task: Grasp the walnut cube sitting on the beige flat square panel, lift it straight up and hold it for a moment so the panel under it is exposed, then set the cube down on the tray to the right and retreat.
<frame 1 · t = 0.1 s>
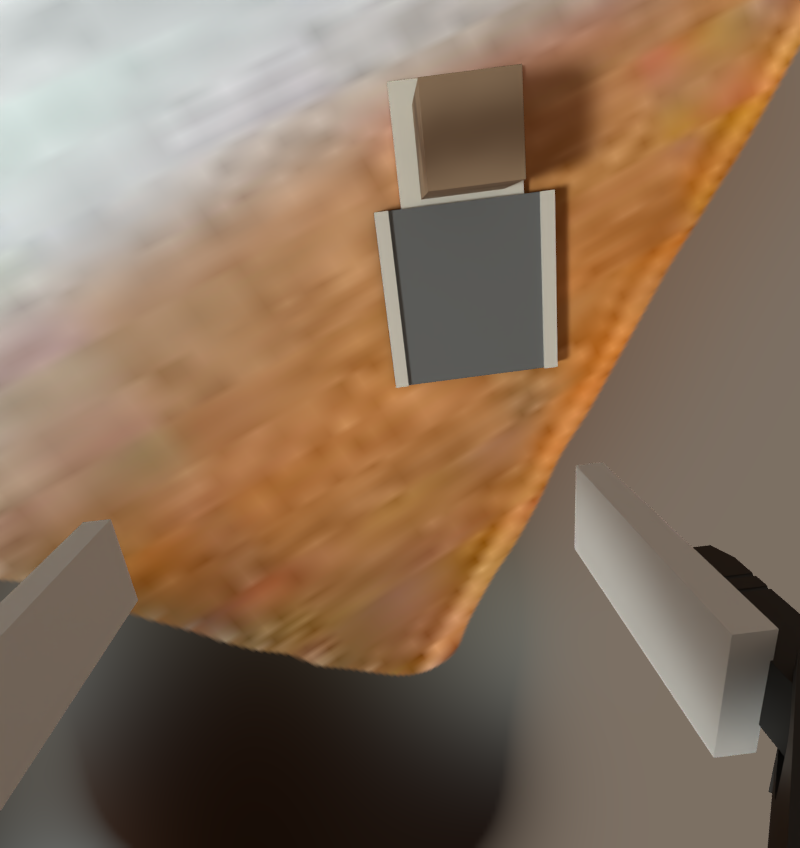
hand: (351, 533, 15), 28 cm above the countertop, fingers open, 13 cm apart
walnut block: (459, 147, 36), resting on beige flat square panel
beige flat square panel: (458, 148, 36), on the countertop
tray: (468, 292, 40), on the countertop
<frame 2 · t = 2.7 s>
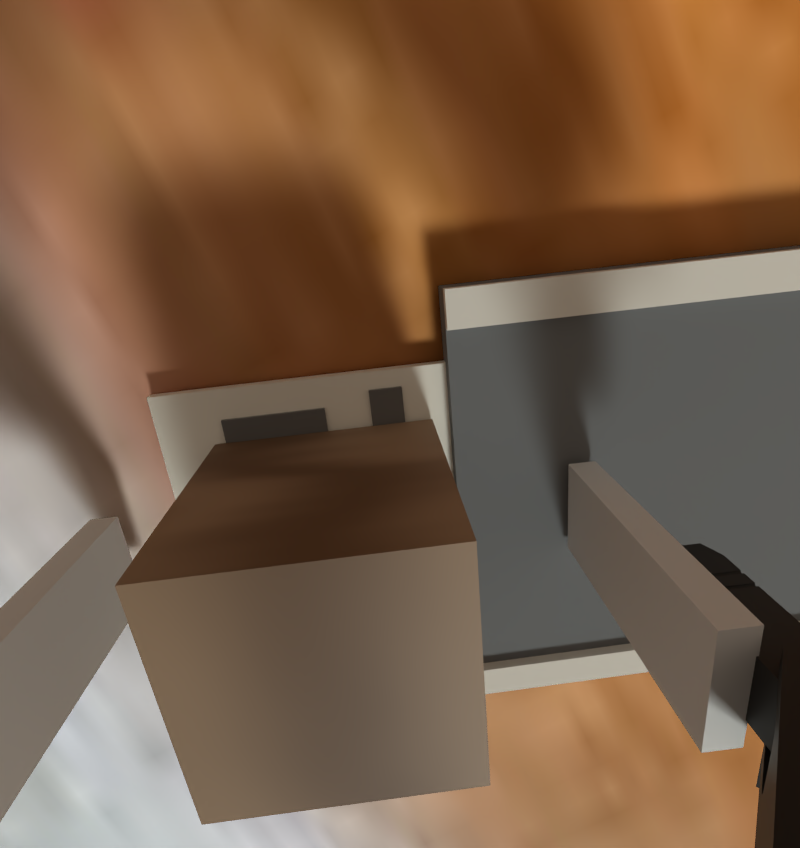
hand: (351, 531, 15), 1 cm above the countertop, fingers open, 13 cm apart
walnut block: (339, 525, 15), resting on beige flat square panel
beige flat square panel: (340, 519, 15), on the countertop
tray: (662, 478, 16), on the countertop
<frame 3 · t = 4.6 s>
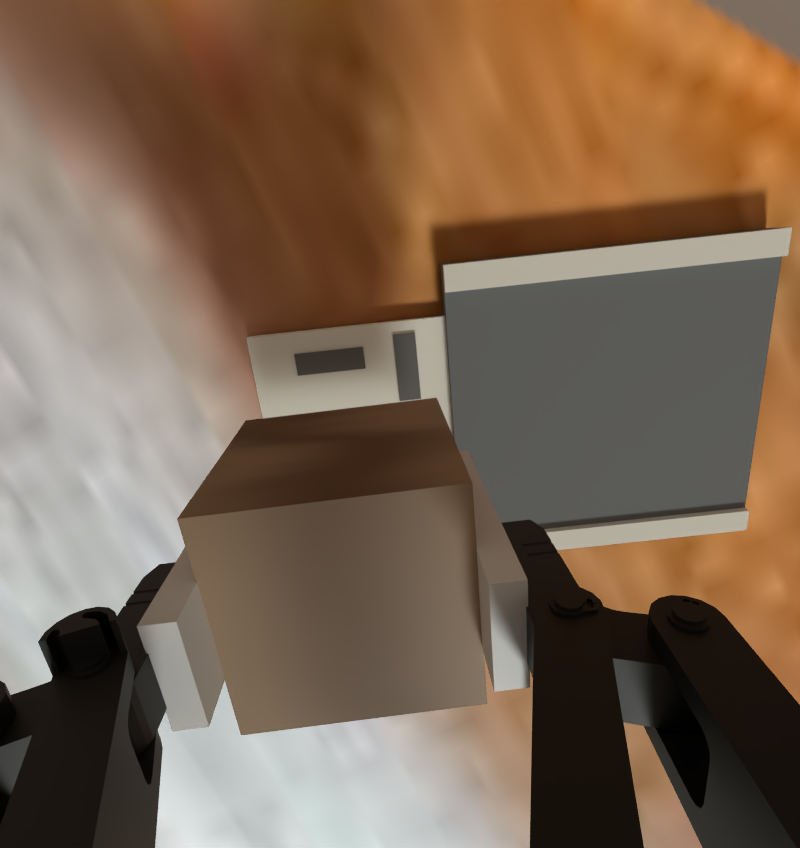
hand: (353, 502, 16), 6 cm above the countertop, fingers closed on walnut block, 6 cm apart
walnut block: (354, 494, 17), point 6 cm above the countertop, touching gripper
beige flat square panel: (371, 427, 22), on the countertop
tray: (599, 403, 22), on the countertop
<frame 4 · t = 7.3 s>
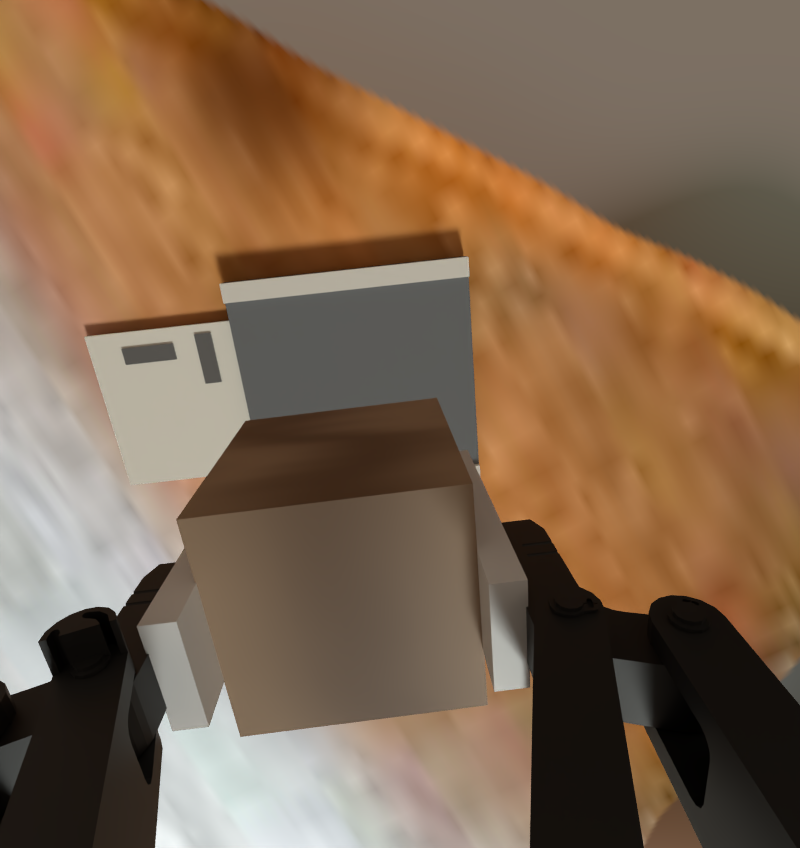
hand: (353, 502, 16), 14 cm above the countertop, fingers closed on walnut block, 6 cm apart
walnut block: (354, 494, 17), point 14 cm above the countertop, touching gripper
beige flat square panel: (189, 404, 30), on the countertop
tray: (360, 385, 30), on the countertop
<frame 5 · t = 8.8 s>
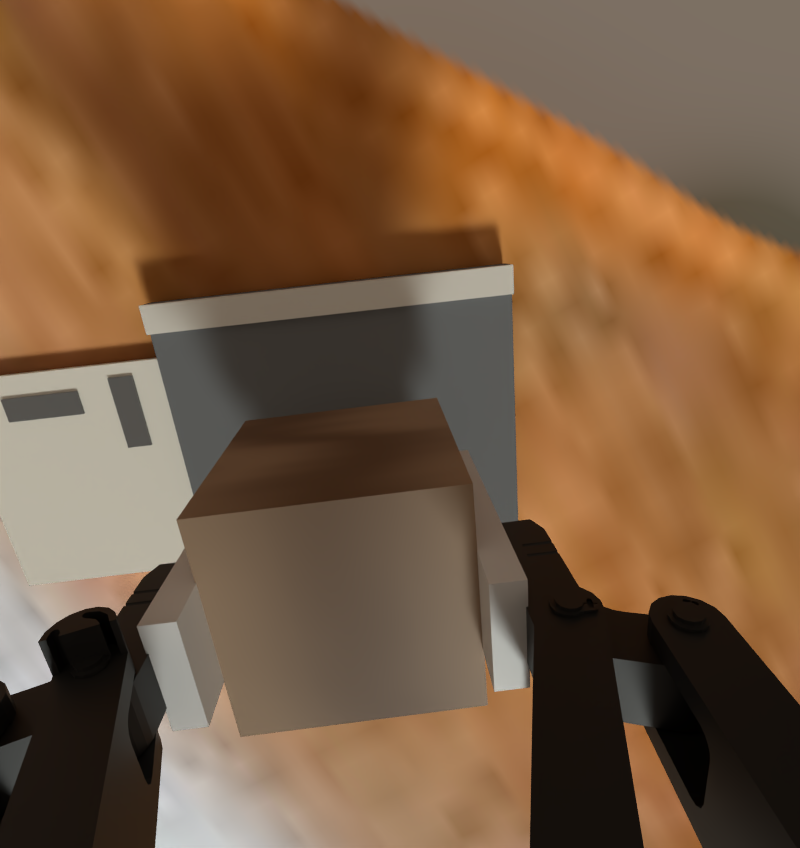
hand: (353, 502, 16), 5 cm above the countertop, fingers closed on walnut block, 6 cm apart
walnut block: (354, 494, 17), point 4 cm above the countertop, touching gripper
beige flat square panel: (107, 475, 21), on the countertop
tray: (353, 446, 21), on the countertop
when the fingers open (1 cm above the countertop, at t = 10.0 s): walnut block stays where it is, resting on tray.
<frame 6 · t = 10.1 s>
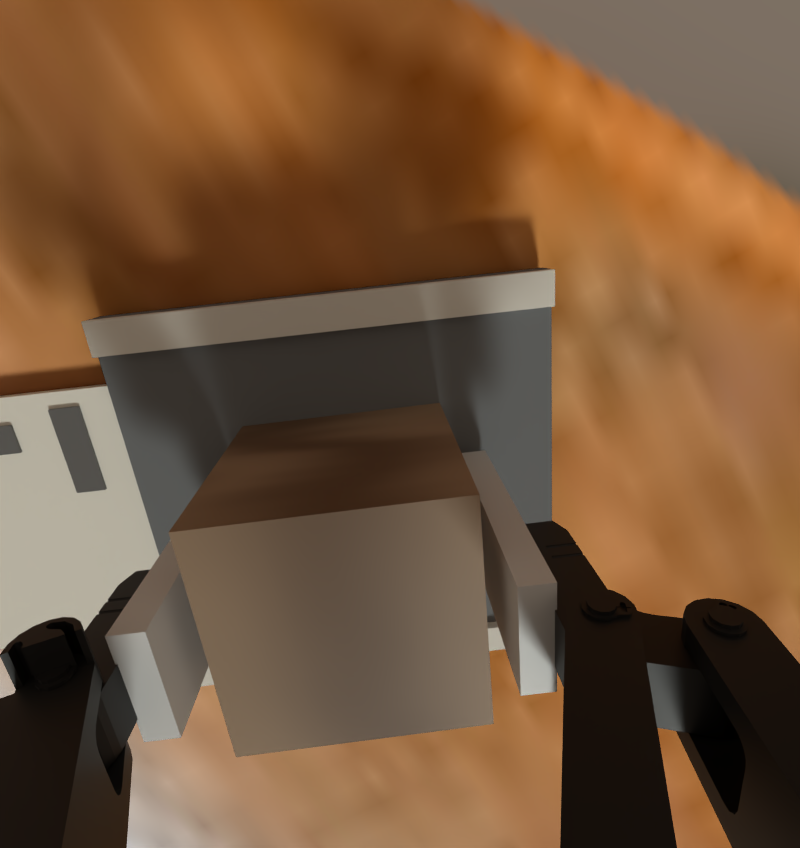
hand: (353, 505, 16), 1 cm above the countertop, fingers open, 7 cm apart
walnut block: (354, 502, 16), point 1 cm above the countertop, touching tray
beige flat square panel: (54, 524, 17), on the countertop
tray: (352, 489, 17), on the countertop
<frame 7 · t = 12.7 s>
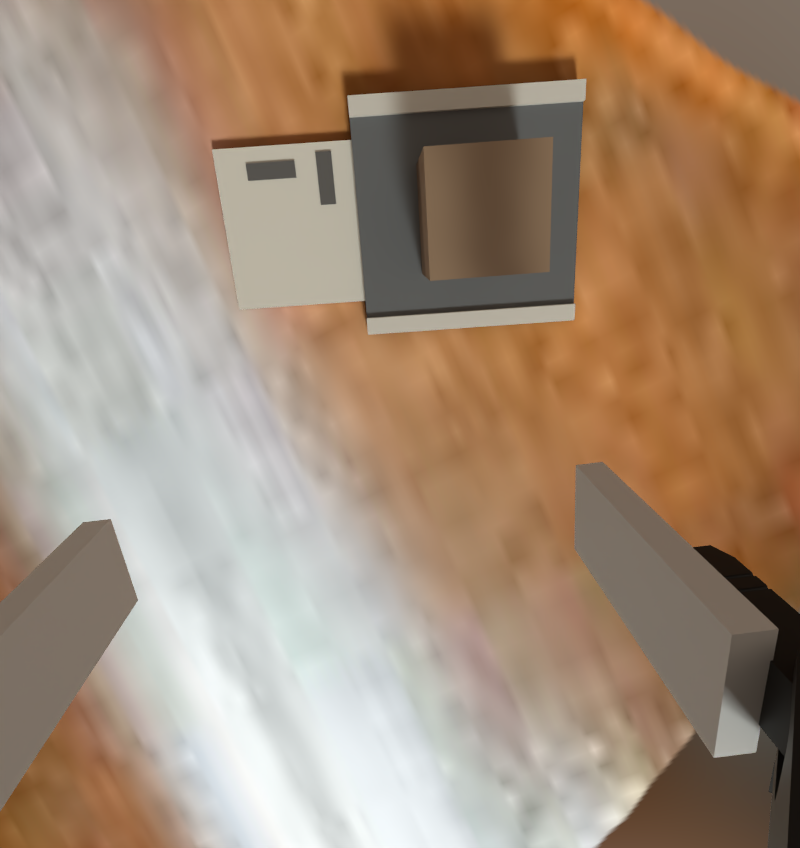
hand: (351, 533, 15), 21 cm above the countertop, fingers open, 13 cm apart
walnut block: (469, 217, 30), point 1 cm above the countertop, touching tray
beige flat square panel: (301, 228, 31), on the countertop
tray: (466, 216, 31), on the countertop
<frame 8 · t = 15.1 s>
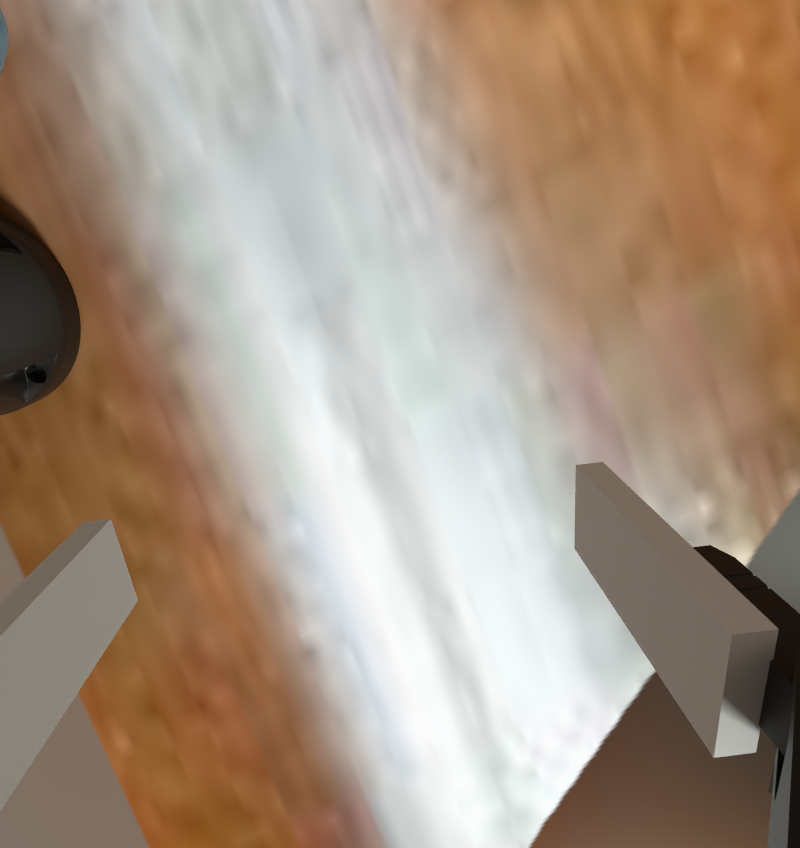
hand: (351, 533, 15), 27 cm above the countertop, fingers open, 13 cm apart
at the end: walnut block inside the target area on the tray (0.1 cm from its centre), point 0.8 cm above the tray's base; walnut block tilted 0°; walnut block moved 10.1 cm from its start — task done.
